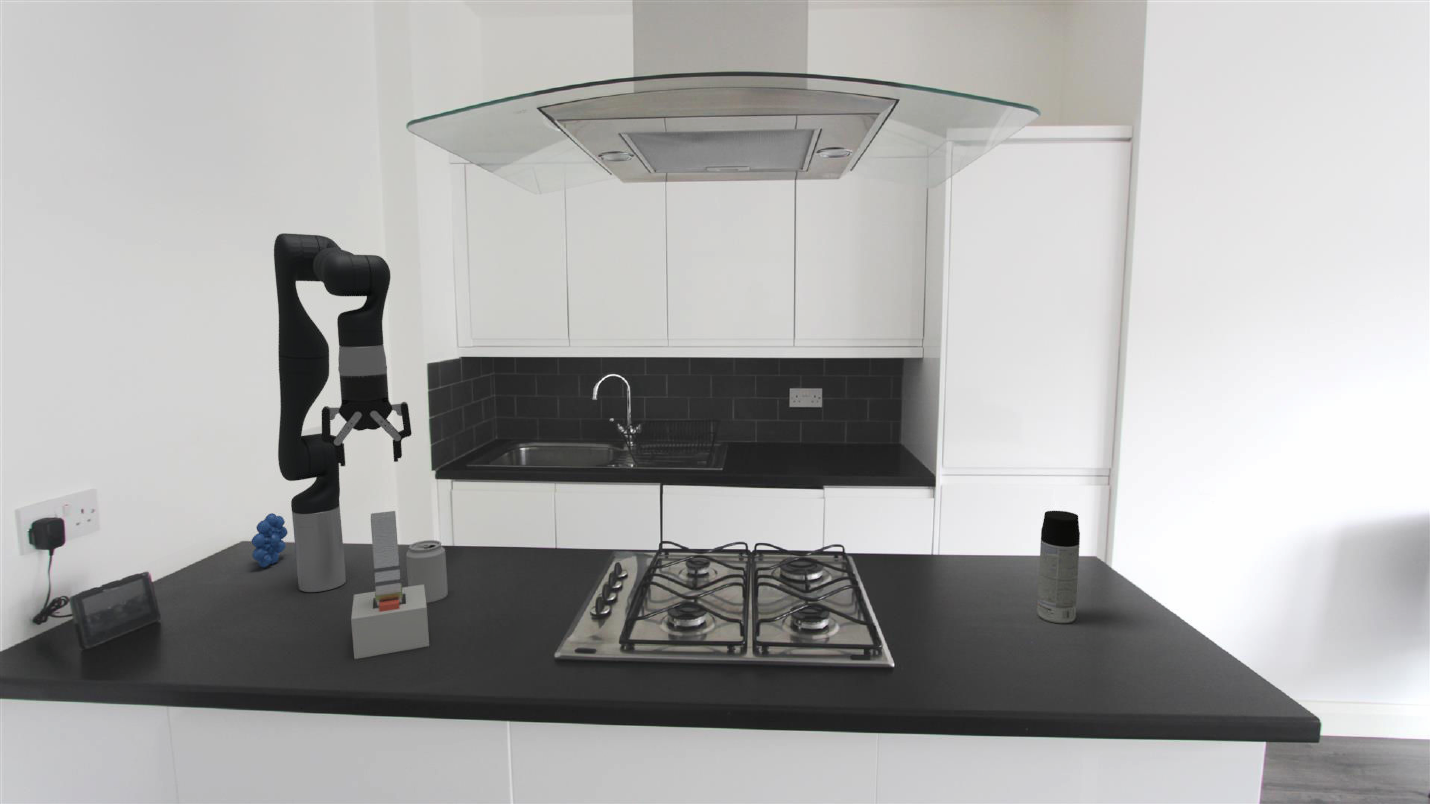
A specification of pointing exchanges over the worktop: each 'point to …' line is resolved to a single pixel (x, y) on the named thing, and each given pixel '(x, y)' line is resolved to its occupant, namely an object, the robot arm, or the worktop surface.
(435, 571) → the can
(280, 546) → the grapes
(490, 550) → the worktop surface
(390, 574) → the column
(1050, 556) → the spray can
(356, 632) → the stand base
